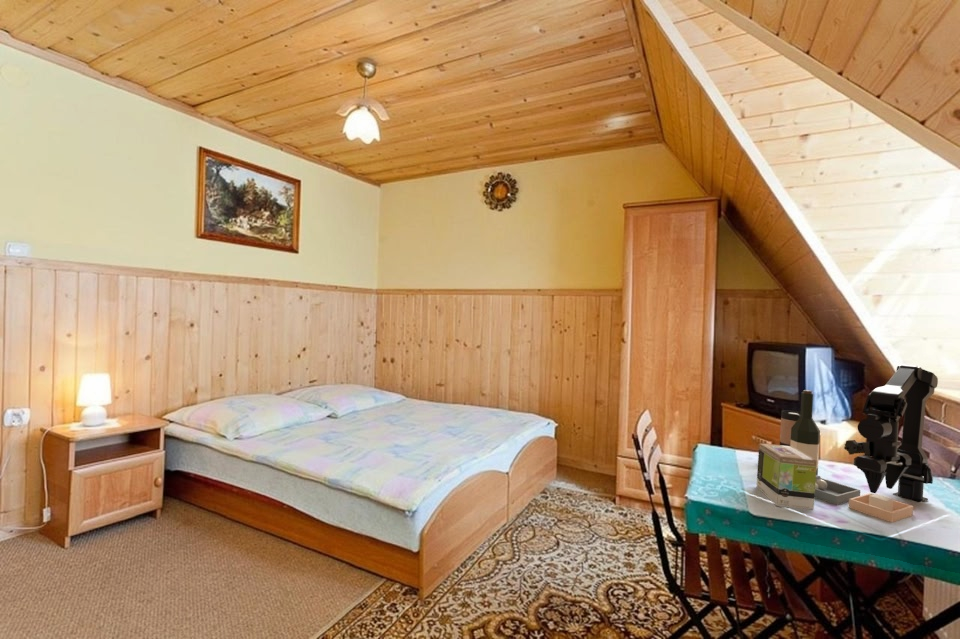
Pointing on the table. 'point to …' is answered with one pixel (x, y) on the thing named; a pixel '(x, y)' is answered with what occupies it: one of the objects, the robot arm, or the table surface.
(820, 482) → the cream glossy ball
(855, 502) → the bin
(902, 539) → the table surface
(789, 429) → the travel mug
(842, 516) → the table surface
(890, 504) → the beige cube
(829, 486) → the bin
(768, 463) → the tea box
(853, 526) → the table surface
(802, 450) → the wine bottle
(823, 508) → the table surface
